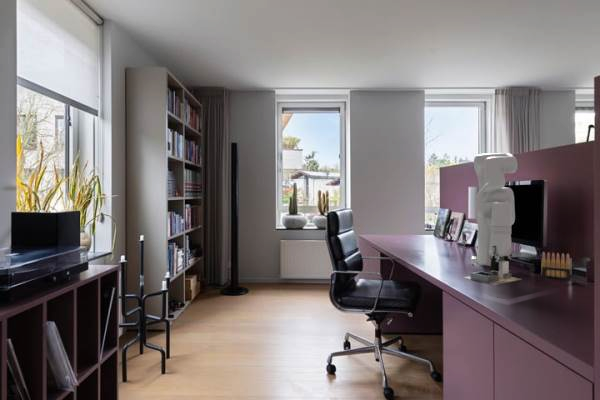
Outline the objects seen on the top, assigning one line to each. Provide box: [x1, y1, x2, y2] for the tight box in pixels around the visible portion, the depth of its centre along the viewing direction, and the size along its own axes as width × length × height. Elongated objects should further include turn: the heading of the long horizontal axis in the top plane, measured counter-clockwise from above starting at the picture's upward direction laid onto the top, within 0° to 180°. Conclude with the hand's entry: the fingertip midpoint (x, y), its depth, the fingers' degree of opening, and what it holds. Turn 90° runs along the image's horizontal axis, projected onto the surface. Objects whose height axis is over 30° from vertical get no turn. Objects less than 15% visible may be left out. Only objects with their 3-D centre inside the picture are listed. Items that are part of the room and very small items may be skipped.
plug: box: [496, 257, 510, 278], centre depth 146 cm, size 4×4×8 cm
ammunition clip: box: [540, 251, 572, 281], centre depth 150 cm, size 11×2×12 cm, turn 62°
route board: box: [463, 270, 523, 286], centre depth 143 cm, size 14×20×4 cm
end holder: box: [469, 270, 499, 284], centre depth 140 cm, size 8×8×2 cm
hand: (500, 269), depth 146 cm, fingers open, 8 cm apart
